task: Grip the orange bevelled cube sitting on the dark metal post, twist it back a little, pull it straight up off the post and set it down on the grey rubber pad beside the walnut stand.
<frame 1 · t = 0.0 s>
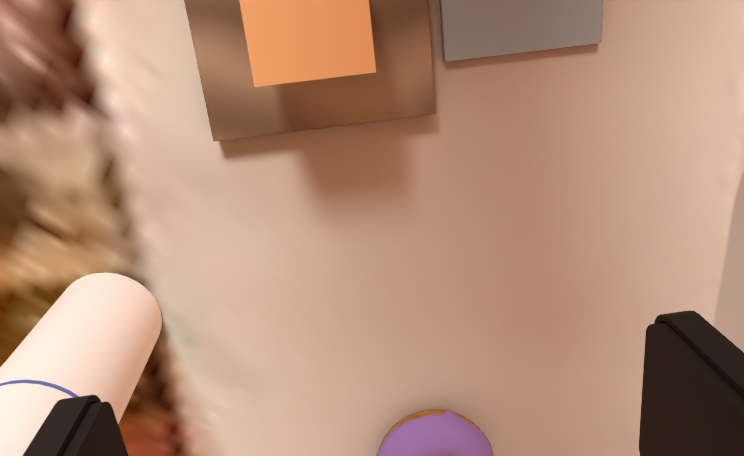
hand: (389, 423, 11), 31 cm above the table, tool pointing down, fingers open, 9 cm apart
cylindrical container: (111, 316, 44), on the table
donut: (430, 447, 51), on the table
orange bevelled cube: (308, 11, 34), point 4 cm above the table, touching post stand
post stand: (309, 9, 37), on the table
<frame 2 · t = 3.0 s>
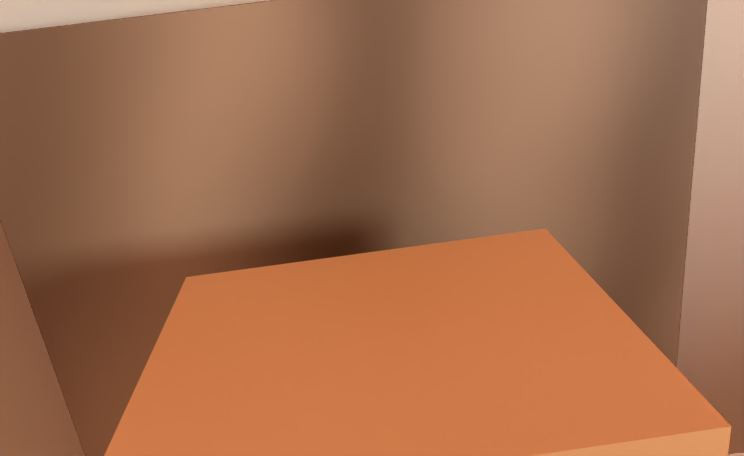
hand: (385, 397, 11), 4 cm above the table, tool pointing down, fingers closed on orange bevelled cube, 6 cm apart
orange bevelled cube: (386, 400, 11), point 4 cm above the table, touching gripper, post stand
post stand: (369, 298, 15), on the table
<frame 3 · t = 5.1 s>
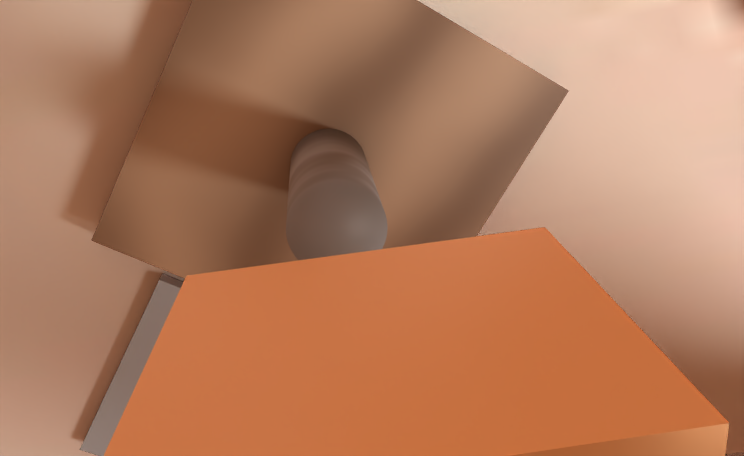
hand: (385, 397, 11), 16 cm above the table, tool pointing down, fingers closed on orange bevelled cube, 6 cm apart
rubber pad: (222, 398, 30), on the table
orange bevelled cube: (385, 399, 11), point 16 cm above the table, touching gripper
post stand: (327, 155, 26), on the table
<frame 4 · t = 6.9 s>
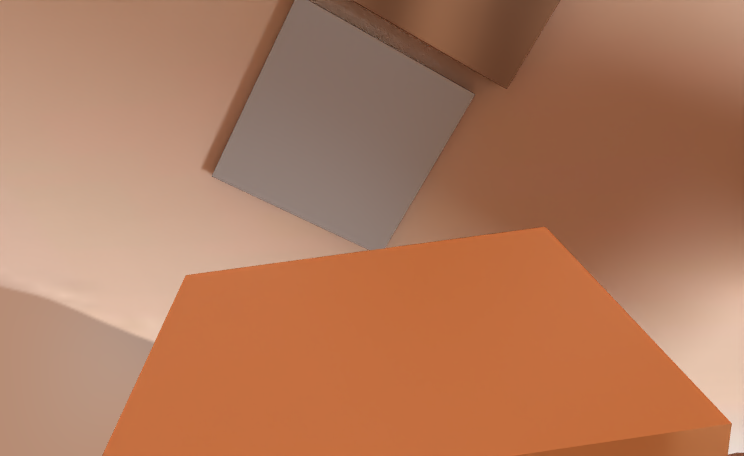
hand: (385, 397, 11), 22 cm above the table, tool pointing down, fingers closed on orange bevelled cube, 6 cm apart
rubber pad: (342, 133, 32), on the table
orange bevelled cube: (385, 399, 11), point 22 cm above the table, touching gripper
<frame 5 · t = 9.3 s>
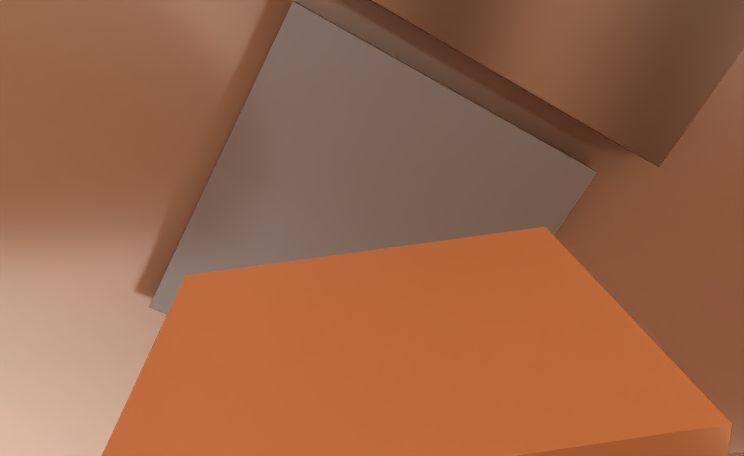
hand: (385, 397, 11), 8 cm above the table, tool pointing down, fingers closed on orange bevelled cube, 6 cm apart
rubber pad: (368, 233, 19), on the table
orange bevelled cube: (385, 399, 11), point 8 cm above the table, touching gripper
when the fingers open (2 cm above the table, at t = 11.2 s): orange bevelled cube drops 1 cm, resting on rubber pad.
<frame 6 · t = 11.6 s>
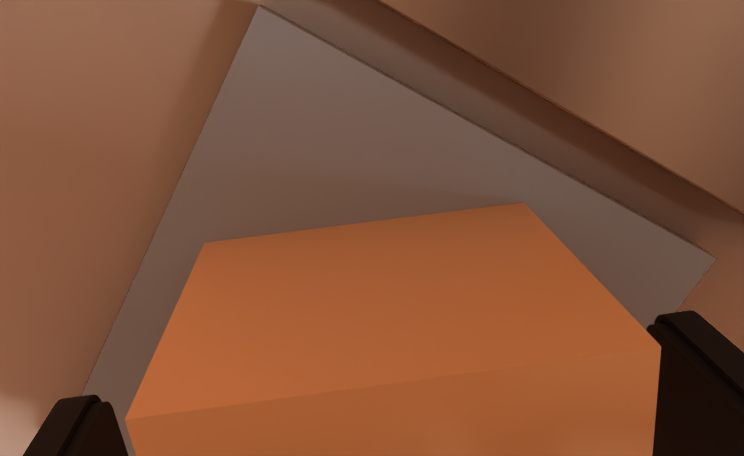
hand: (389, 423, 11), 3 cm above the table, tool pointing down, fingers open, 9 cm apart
rubber pad: (376, 343, 13), on the table
orange bevelled cube: (381, 358, 13), point 1 cm above the table, touching rubber pad
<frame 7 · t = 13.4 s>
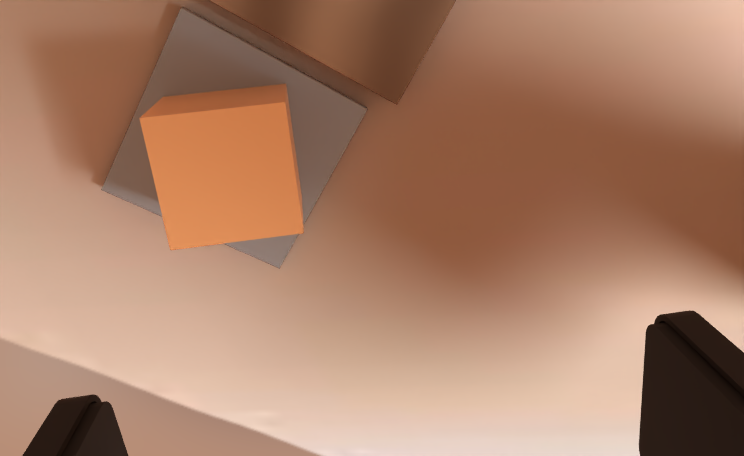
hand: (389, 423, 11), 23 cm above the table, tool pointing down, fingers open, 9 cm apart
rubber pad: (235, 146, 32), on the table
orange bevelled cube: (235, 149, 31), point 1 cm above the table, touching rubber pad
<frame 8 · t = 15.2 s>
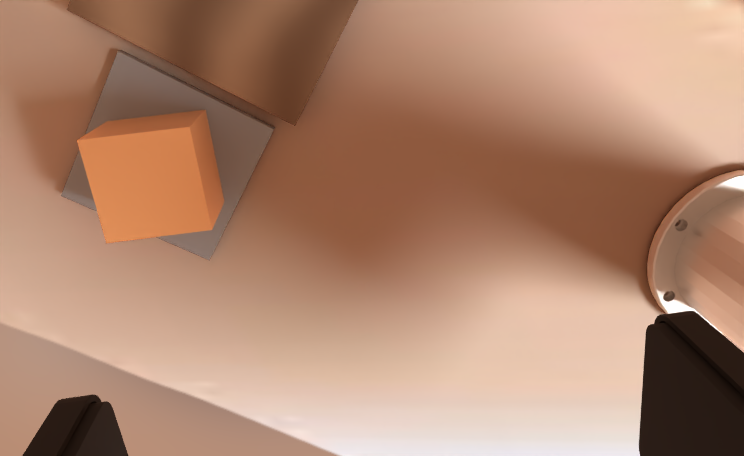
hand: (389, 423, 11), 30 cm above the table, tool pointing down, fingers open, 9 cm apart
rubber pad: (169, 160, 39), on the table
orange bevelled cube: (167, 162, 39), point 1 cm above the table, touching rubber pad
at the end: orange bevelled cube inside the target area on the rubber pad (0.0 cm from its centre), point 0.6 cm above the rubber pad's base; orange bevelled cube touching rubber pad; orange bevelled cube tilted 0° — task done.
